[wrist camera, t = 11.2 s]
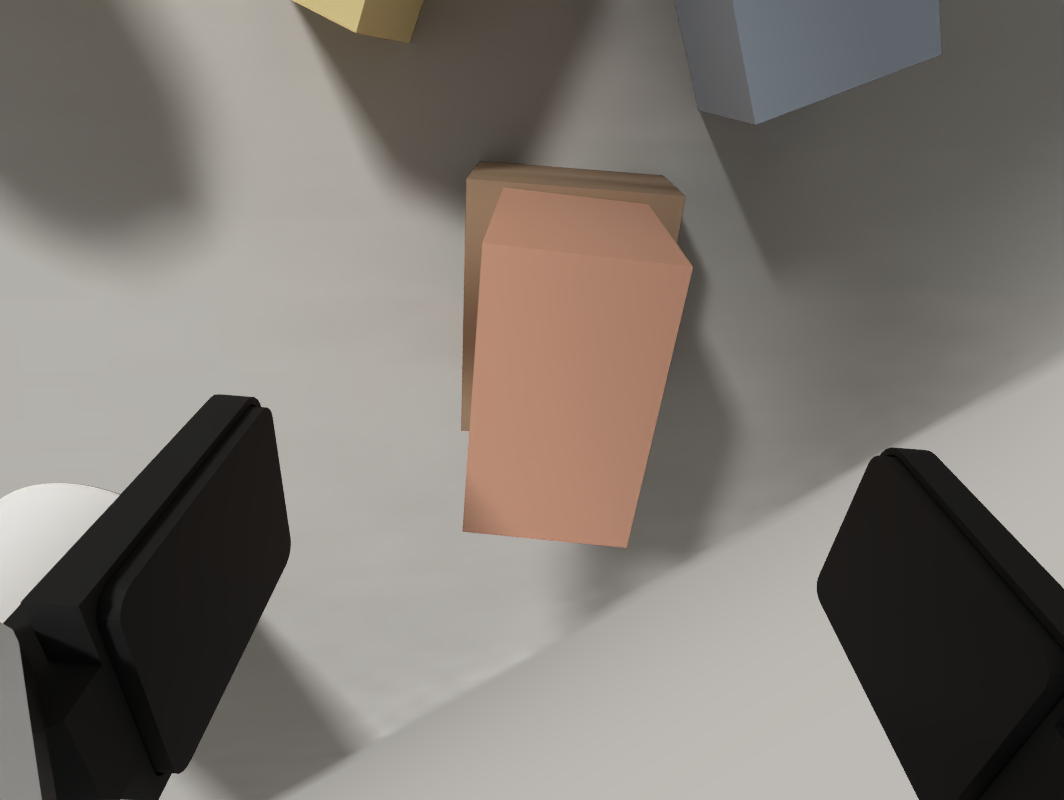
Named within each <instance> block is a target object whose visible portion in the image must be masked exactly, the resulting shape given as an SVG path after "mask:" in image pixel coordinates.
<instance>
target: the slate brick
mask: <svg viewBox="0 0 1064 800" xmlns="http://www.w3.org/2000/svg"><path fill="white" fill-rule="evenodd" d="M674 2H675V6H676V11H677V15H678V20H679V24H680V29H681V33H682V38H683V42H684V47H685V51H686V56H687V60H688V65H689V69H690V74H691V78H692V83H693V87H694V92H695V96H696V101H697V105H698V110H699V111H703V112H707V113H711V114H715V115H719V116H723V117H726V118H730V119H734V120H738V121H742V122H746V123H750V124H754V125H757V124H759V123H762V122H765V121H767V120H770V119H773V118H775V117H778V116H781V115H783V114H786V113H788V112H791V111H794V110H796V109H799V108H802V107H804V106H807V105H810V104H812V103H815V102H818V101H820V100H823V99H826V98H828V97H831V96H834V95H836V94H839V93H841V92H844V91H847V90H849V89H852V88H855V87H857V86H860V85H863V84H865V83H868V82H871V81H873V80H876V79H879V78H881V77H884V76H887V75H889V74H892V73H894V72H897V71H900V70H902V69H905V68H908V67H910V66H913V65H916V64H918V63H921V62H924V61H926V60H929V59H932V58H934V57H937V56H940V55H942V48H941V30H940V12H939V0H674Z"/></svg>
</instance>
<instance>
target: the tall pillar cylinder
mask: <svg viewBox="0 0 1064 800" xmlns="http://www.w3.org/2000/svg"><path fill="white" fill-rule="evenodd" d="M119 496H120V495H119V494H116V493H113V492H110V491H107V490H103V489H100V488H95V487H91V486H85V485H79V484H69V483H48V484H39V485H33V486H29V487H25V488H22V489H19V490H16V491H14V492H12V493H10V494H8V495H6V496H4V497H3V498H1V499H0V622H1V623H2V624H3V623H4V622H5V620H6V619H7V618H8V617H9V616H10V615H11V614H12V613H13V612H14V611H15V610H16V609H17V608H18V606H19V605H20V604H21V603H20V602H21V601H22V600H23V599H24V598H25V597H26V596H27V595H28V593H29V592H30V591H31V590H32V589H33V588H34V587H35V586H36V585H37V584H38V583H39V582H40V581H41V579H42V578H43V577H44V576H45V575H46V574H47V573H48V572H49V571H50V570H51V569H52V568H53V567H54V565H55V564H56V563H57V562H58V561H59V560H60V559H61V558H62V557H63V556H64V555H65V554H66V553H67V552H68V550H69V549H70V548H71V547H72V546H73V545H74V544H75V543H76V542H77V541H78V540H79V539H80V538H81V536H82V535H83V534H84V533H85V532H86V531H87V530H88V529H89V528H90V527H91V526H92V525H93V524H94V522H95V521H96V520H97V519H98V518H99V517H100V516H101V515H102V514H103V513H104V512H105V511H106V510H107V508H108V507H109V506H110V505H111V504H112V503H113V502H114V501H115V500H116V499H117V498H118V497H119Z"/></svg>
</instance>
